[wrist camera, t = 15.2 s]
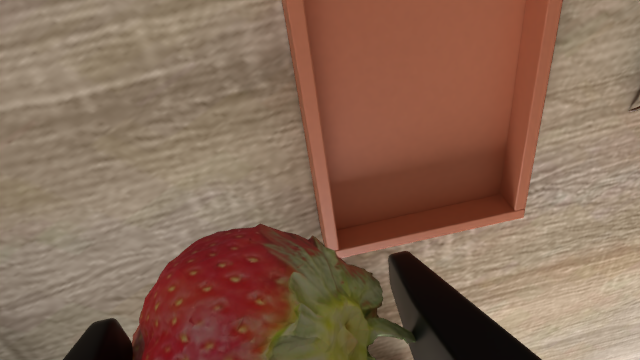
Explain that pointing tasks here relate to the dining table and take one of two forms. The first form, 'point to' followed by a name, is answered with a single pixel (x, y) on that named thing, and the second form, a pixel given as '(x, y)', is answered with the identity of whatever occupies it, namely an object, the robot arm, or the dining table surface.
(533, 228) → the dining table surface
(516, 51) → the terracotta tray
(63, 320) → the dining table surface
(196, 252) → the fruit
